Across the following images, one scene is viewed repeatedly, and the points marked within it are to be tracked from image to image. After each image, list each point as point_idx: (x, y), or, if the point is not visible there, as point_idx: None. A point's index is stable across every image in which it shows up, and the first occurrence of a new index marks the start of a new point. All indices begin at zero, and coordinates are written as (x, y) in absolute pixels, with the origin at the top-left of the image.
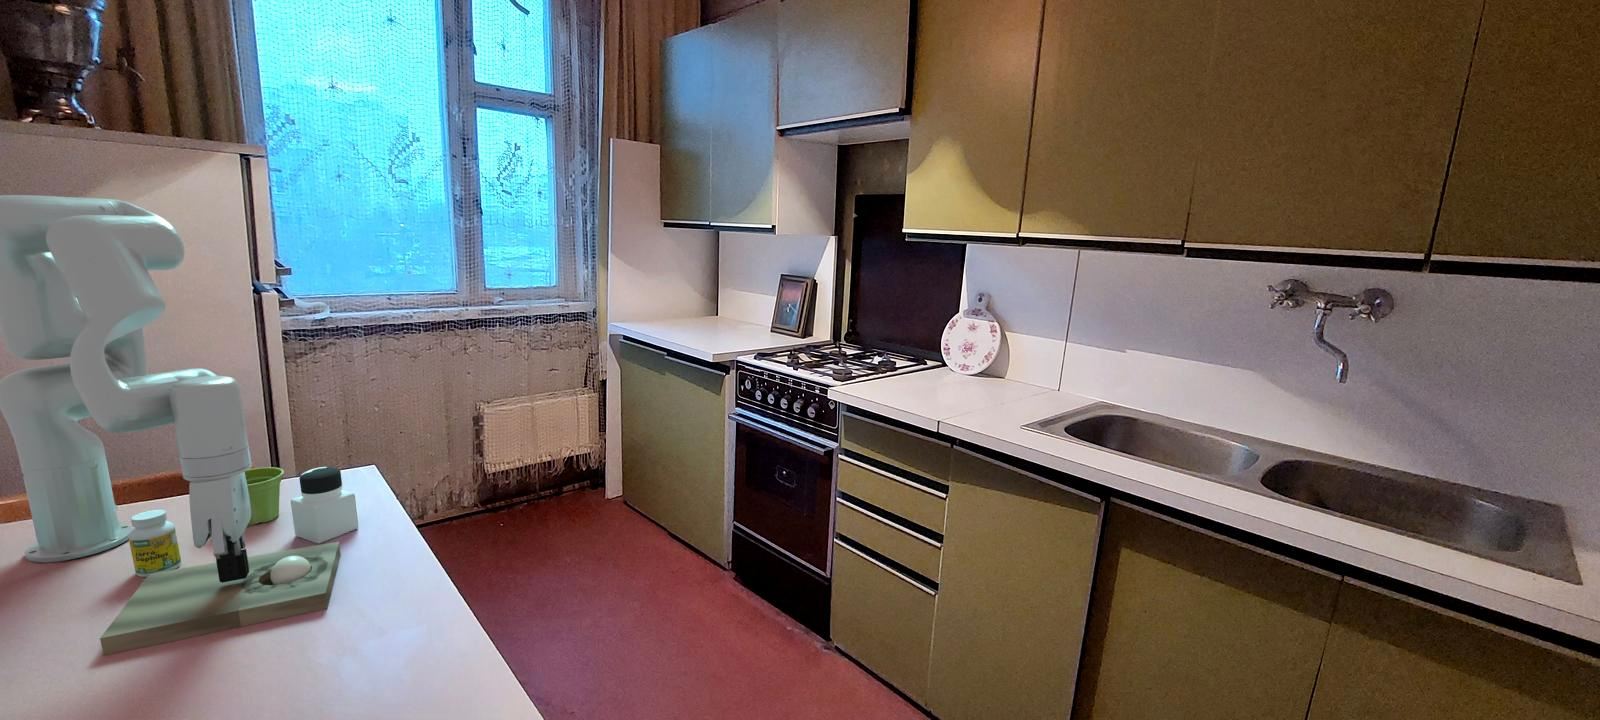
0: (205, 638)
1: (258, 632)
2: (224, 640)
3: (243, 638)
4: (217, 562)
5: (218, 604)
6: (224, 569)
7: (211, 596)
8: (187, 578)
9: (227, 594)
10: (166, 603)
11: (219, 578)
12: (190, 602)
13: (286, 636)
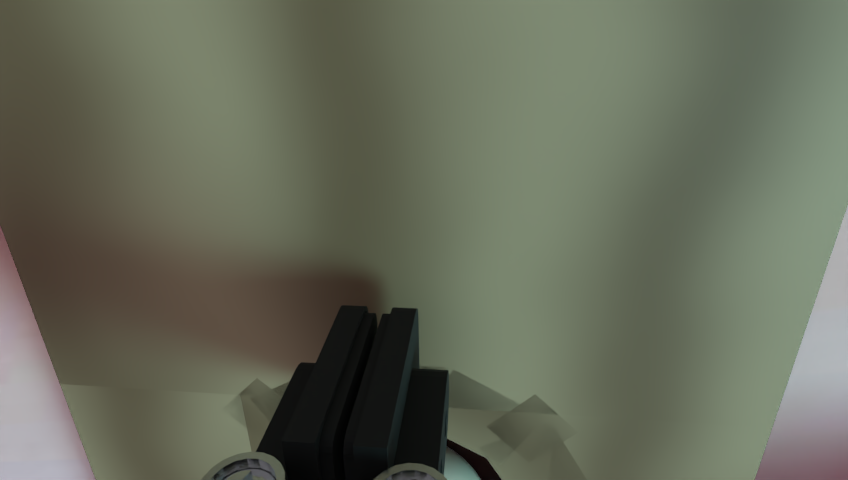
0: None
1: (58, 385)
2: (17, 290)
3: (22, 347)
4: (297, 412)
5: (141, 300)
6: (282, 406)
7: (254, 252)
8: (646, 41)
9: (251, 321)
10: (240, 11)
11: (338, 318)
12: (209, 159)
13: (15, 457)
